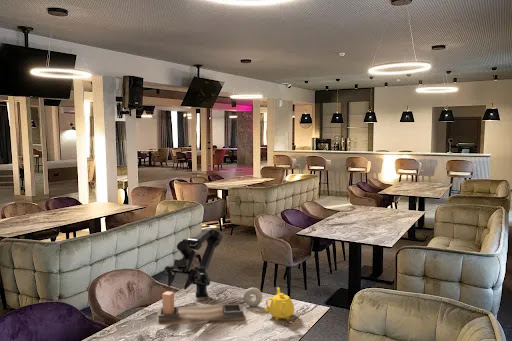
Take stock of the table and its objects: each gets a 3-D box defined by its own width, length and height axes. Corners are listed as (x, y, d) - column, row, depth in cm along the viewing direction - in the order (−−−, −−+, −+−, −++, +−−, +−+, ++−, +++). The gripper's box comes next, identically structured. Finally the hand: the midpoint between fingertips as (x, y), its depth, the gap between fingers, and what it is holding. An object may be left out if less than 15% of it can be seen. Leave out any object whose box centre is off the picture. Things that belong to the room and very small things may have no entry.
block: (167, 314, 203) (166, 291, 201) (174, 315, 201) (173, 292, 200) (162, 318, 199) (162, 294, 198) (169, 319, 197) (169, 295, 196)
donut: (262, 304, 218) (262, 286, 217) (262, 307, 214) (262, 289, 214) (243, 304, 218) (243, 286, 217) (243, 307, 215) (243, 288, 214)
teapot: (262, 308, 214) (262, 286, 213) (290, 307, 215) (290, 285, 214) (267, 326, 194) (267, 302, 193) (298, 325, 195) (298, 301, 194)
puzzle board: (158, 312, 209) (158, 303, 209) (240, 306, 216) (240, 297, 216) (156, 327, 192) (155, 318, 192) (245, 320, 199) (245, 311, 199)
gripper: (165, 250, 213) (153, 278, 203) (197, 254, 206) (187, 283, 197) (174, 261, 221) (163, 288, 212) (205, 264, 214) (195, 293, 205)
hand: (176, 287), depth 206 cm, fingers open, 9 cm apart
